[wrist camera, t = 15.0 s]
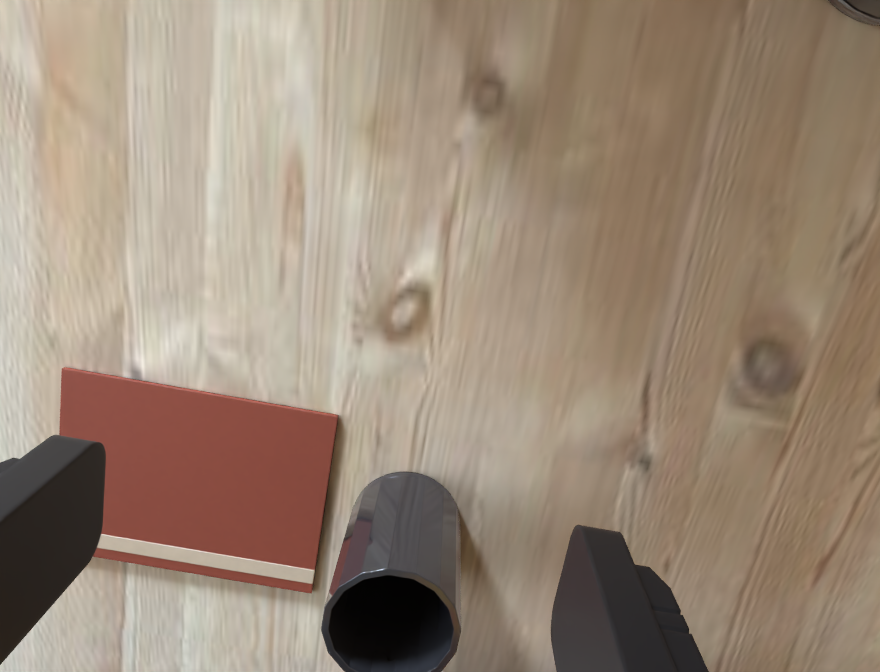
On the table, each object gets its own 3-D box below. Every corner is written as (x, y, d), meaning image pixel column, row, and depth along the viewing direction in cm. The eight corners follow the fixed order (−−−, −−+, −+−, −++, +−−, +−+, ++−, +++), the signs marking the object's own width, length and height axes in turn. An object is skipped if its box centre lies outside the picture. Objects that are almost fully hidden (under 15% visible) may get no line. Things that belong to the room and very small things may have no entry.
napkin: (338, 415, 42) (337, 417, 41) (312, 590, 45) (311, 594, 45) (64, 367, 41) (61, 368, 41) (57, 547, 44) (54, 550, 44)
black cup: (468, 481, 43) (471, 582, 33) (449, 575, 44) (446, 697, 35) (360, 462, 42) (332, 559, 33) (345, 557, 44) (313, 675, 35)
